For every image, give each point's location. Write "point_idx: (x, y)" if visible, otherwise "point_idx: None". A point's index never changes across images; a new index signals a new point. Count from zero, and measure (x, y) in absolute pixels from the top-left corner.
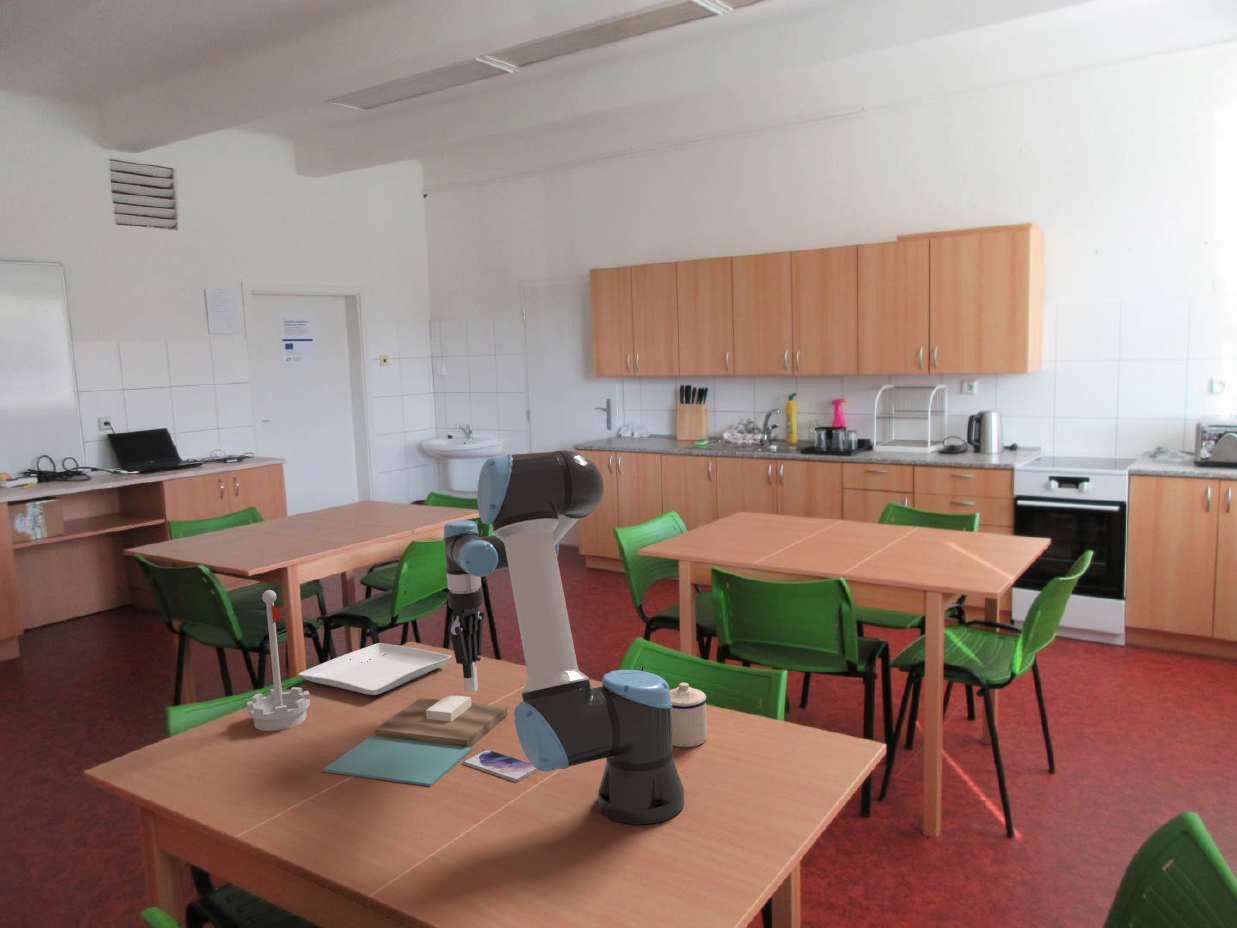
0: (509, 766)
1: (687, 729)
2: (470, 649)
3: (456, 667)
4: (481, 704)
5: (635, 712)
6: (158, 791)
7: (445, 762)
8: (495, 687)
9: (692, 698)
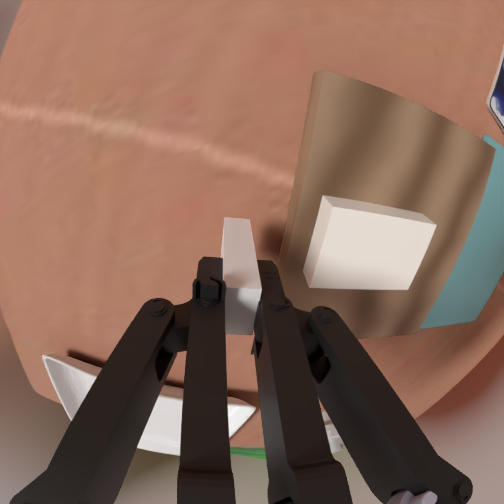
0: None
1: None
2: (288, 364)
3: (48, 330)
4: (311, 165)
5: None
6: (444, 392)
7: None
8: (94, 201)
9: None
